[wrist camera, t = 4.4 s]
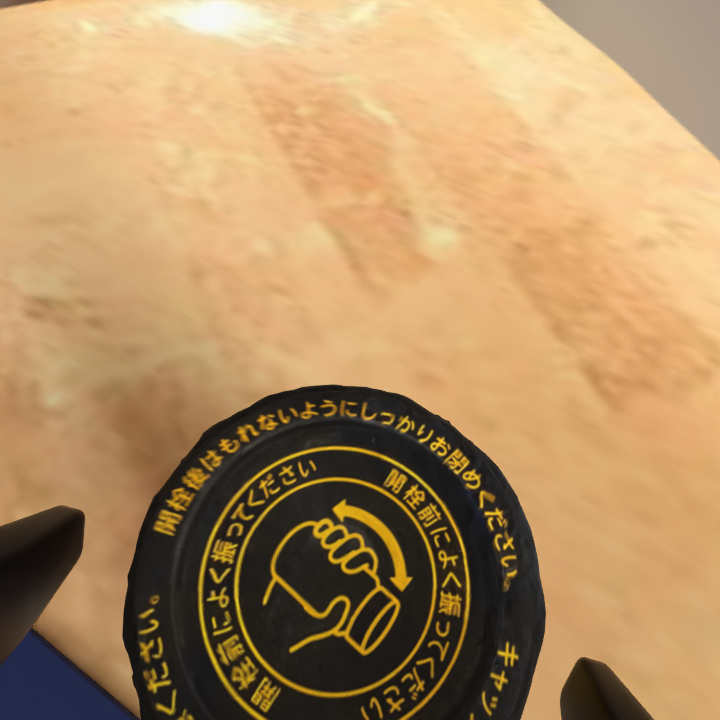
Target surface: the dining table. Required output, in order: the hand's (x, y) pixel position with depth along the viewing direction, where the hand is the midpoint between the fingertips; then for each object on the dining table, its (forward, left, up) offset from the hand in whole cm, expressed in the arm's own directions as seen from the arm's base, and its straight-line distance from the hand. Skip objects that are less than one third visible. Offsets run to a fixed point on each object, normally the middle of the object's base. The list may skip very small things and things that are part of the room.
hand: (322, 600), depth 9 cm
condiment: (+1, 0, -9) cm, 9 cm away
